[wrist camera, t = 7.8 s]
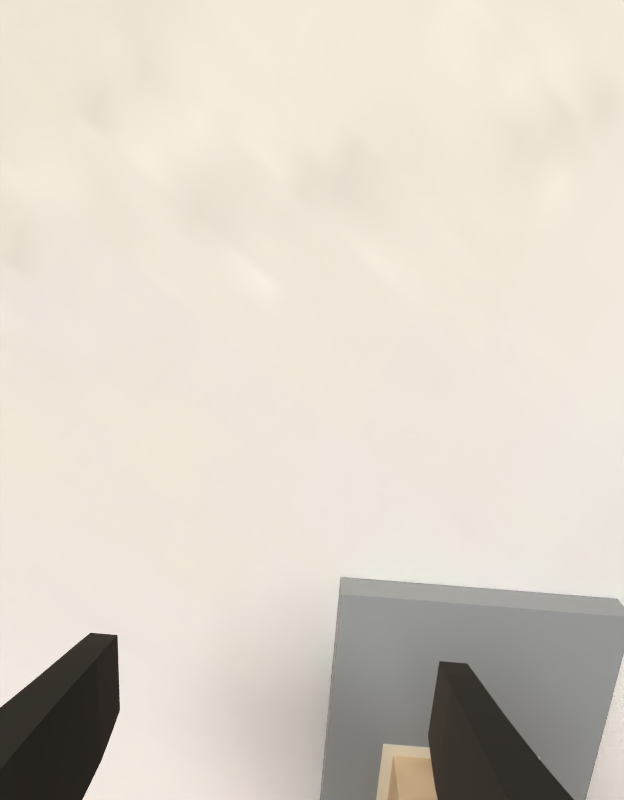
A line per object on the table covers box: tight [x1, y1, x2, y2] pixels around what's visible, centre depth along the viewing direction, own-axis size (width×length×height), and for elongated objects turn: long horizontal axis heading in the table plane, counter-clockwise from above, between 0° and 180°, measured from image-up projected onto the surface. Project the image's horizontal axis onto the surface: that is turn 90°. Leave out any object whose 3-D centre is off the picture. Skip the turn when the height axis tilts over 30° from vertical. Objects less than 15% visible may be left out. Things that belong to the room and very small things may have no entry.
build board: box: [320, 577, 624, 800], centre depth 24 cm, size 12×16×1 cm
